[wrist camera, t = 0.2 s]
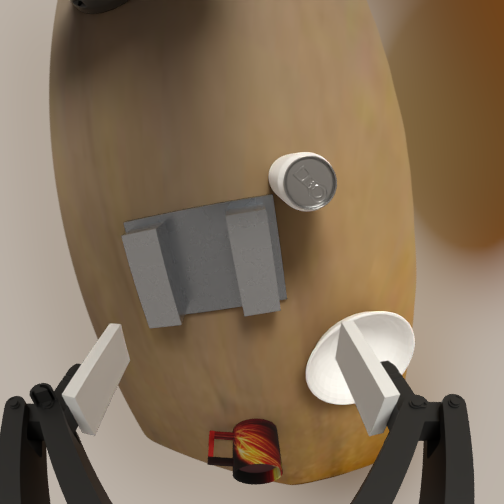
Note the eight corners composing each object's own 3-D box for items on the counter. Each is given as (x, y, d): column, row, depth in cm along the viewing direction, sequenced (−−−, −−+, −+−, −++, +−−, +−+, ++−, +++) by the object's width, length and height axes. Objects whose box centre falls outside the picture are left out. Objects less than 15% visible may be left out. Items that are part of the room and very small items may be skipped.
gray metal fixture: (125, 221, 41) (109, 230, 35) (272, 194, 41) (277, 199, 35) (152, 315, 46) (142, 334, 40) (286, 296, 45) (292, 314, 40)
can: (289, 209, 41) (307, 227, 30) (258, 175, 40) (265, 180, 28) (322, 179, 40) (352, 186, 29) (292, 145, 39) (312, 138, 27)
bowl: (411, 344, 50) (426, 362, 44) (329, 397, 53) (337, 419, 47) (376, 271, 45) (394, 287, 39) (277, 338, 48) (282, 361, 42)
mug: (208, 426, 54) (204, 470, 43) (270, 414, 54) (275, 459, 42) (224, 448, 57) (223, 489, 46) (281, 437, 57) (287, 479, 45)
